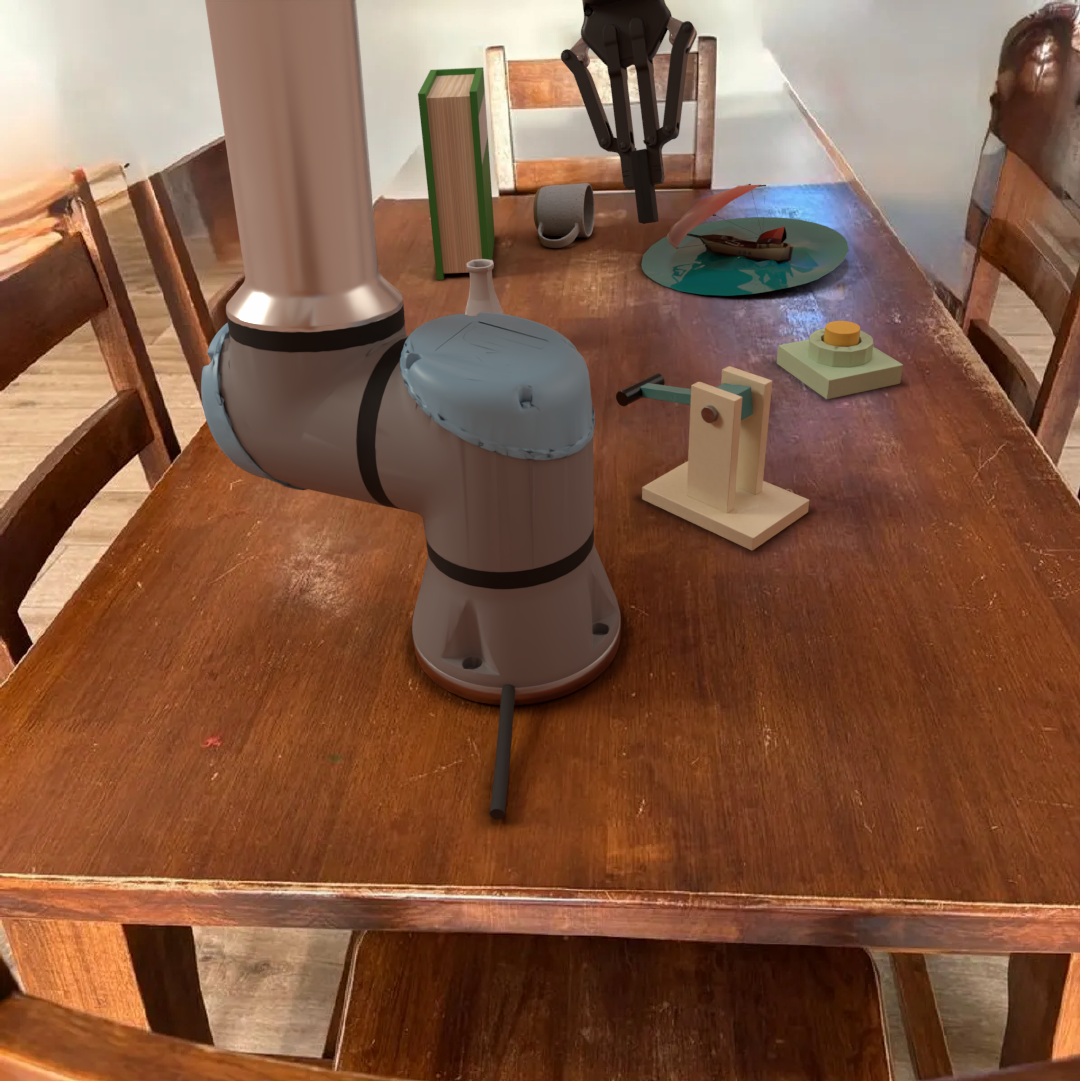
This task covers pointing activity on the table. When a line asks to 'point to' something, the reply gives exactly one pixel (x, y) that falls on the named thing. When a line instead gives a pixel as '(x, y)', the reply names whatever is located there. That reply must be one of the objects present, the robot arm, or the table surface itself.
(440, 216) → the hardback book
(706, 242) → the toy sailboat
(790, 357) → the button box
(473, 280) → the flask
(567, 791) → the table surface
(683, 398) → the lever
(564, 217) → the ceramic mug
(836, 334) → the button
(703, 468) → the wooden stand
